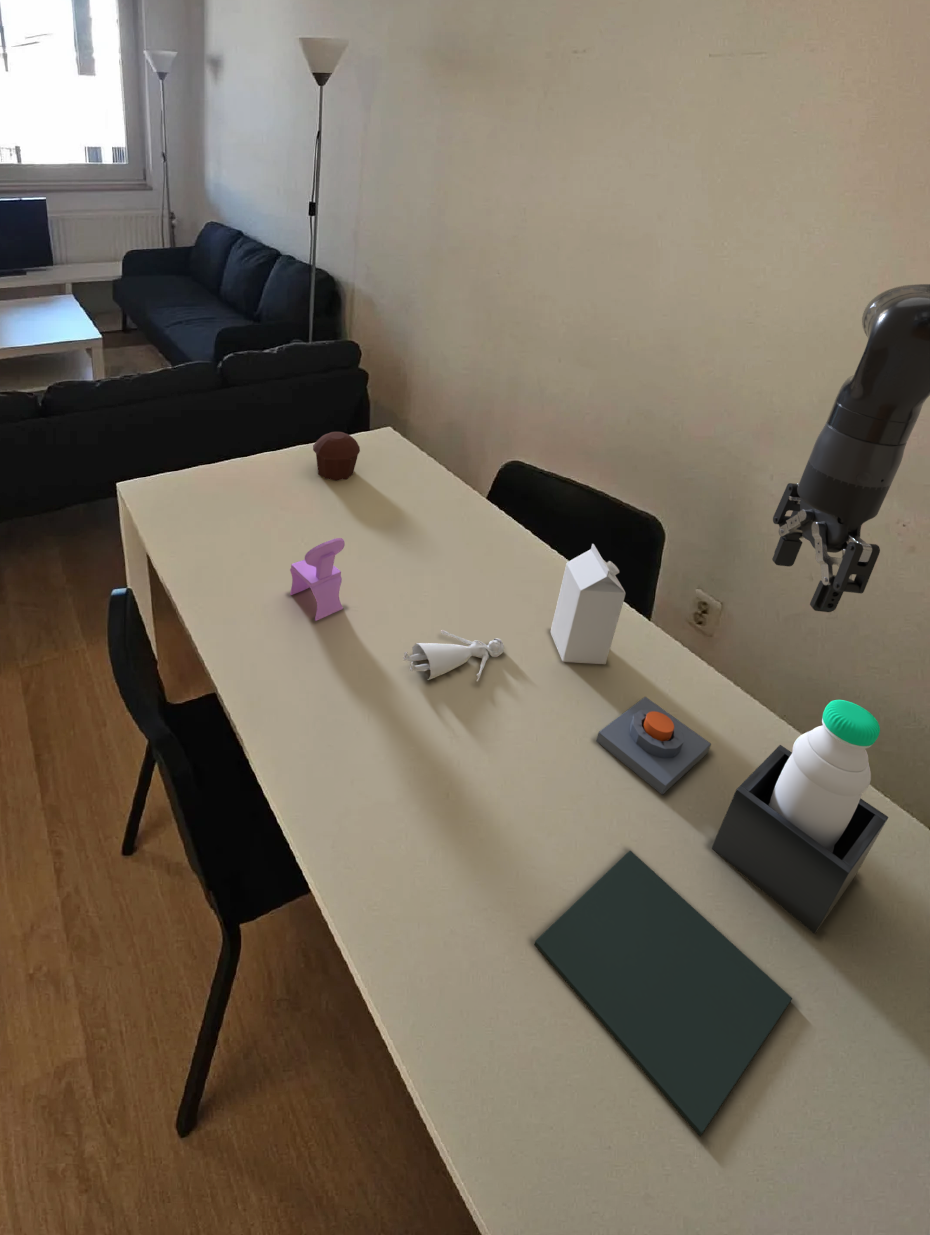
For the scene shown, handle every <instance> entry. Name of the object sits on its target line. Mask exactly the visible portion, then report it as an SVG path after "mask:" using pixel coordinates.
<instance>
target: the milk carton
mask: <svg viewBox="0 0 930 1235" xmlns="http://www.w3.org/2000/svg"><path fill="white" fill-rule="evenodd" d="M618 574H620V569H619V568H618V566H617V565H616V564H615V563H613V561H611V560H608V561H606V560H604V559H603V557H602V556H601V554H600V552H599V550H598V548H597V547H596V545H595V544H594V543H591V547H590V549H589V550H587V551H585V552H583V553H581V554H580V555H579V554H578V555H577V556H576V557H574V558H572V559H571V560H569V561H567V562H566V564H565V568H564V572H563V576H562V581H561V583H560V584H561V585H560V589H559V594H558V597H557V602H556V607H555V611H554V614H553V619H552V623H551V628H550V635H551V637H552V640H553V643H554V645H555V647H556V649H557V651H558V654H559V657H560V659H561V662H563V663H576V664H577V663H579V664H594V665H595V664H596V665H606V664H607V661H608V657H609V653H610V650H611V647H612V643H613V640H614V637H615V633H616V629H617V626H618V622H619V619H620V615H621V611H622V608H623V605H624V601H625V598H626V591H625V589H624V587H623V586H622V583H621V582H620V581H619V579H618V577H617V575H618Z"/></svg>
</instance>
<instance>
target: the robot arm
mask: <svg viewBox="0 0 930 1235" xmlns="http://www.w3.org/2000/svg"><path fill="white" fill-rule="evenodd" d="M865 306H866V307H865V308H864V310H863V312H862V317H861V326H862V329H863V332H864V334H865V336H866V337H867V341H866V345H865V348H864V351H863V353H862V355H861V357H860V360H859V363H858V364H857V367H856V370H855V372H854V374H853V375H851V376H849V377H847V378H846V379H845V380H844V382H843V383H842V385H841V386H840V388H839V390H838V393H837V394H836V396H835V399H834V401H833V404H832V407H831V409H830V411H829V414H828V417H827V419H826V421H825V424H824V425H823V428H822V429H821V431H820V432H819V434H818V436H817V438H816V440H815V442H814V443H813V444H814V445H813V447H812V450H811V453H810V455H809V457H808V460H807V463H806V464H805V467H804V470H803V472H802V475H801V478H800V480H799V482H798V483H793V482H788V483H787V484H786V487H785V489H784V491H783V494H782V496H781V497H780V500H779V502H778V505H777V507H776V510H775V512H774V514H773V516H772V522H773V524H774V525H778V526H779V528H778V536H780V537H779V539H778V541H777V545H776V547H775V549H774V554H773V555H772V558H771V559H772V562H773V563H774V564H775V565H776V566H779V567H780V566H781V567H792V566H794V564H795V562H796V560H797V557H798V555H799V552H800V550H801V548H802V545H803V541H802V539H805V540H808V541H809V543H810V544H811V546H812V548H813V549H814V553H815V562H817V564H819V565H820V571H821V572H820V574H821V579H820V580H819V582H818V584H817V586H816V588H815V591H814V593H813V596H812V598H811V600H810V602H809V606H810V607H811V608H812V609H813V610H814V611H815V612H822V613H832V612H834V611H836V609H837V608H838V605H839V604H840V601H841V599H842V597H843V594H844V593H852V594H853V593H854V594H864V592H865V590H866V587H867V586H868V583H869V580H870V577H871V575H872V573H873V570H874V567H875V565H876V563H877V561H878V558H879V556H880V553H881V548H880V546H879V545H878V544H877V543H868V542H866V541H865V540H864V539H862V538H861V530H862V526H863V524H865V523H866V522H868V521H870V520H872V519H874V518H876V517H877V516H878V514H879V512H880V510H881V508H882V506H883V503H884V501H885V499H886V497H887V494H888V492H889V491H890V488H891V486H892V484H893V481H894V479H895V477H896V475H897V472H898V471H899V469H900V466H901V464H902V461H903V457H904V452H905V450H906V445H907V442H908V441H909V439H910V437H911V434H912V432H913V430H914V428H915V426H916V423H917V422H918V419H919V417H920V414H921V412H922V408H923V406H924V404H925V402H926V401H927V399H928V398H929V397H930V283H917V284H906V285H900V286H895V287H891V288H889V289H887V290H885V291H882V292H881V293H879V294H877V295H876V296H874V297H873V298H872V299H871V300H870V301H869V302H868V303H867V305H865ZM789 511H792V512H791V514H790V515H786V514H787V513H788V512H789ZM839 552H842V555H841V557H834V556H830V555H829V554H828V553H833V554H834V553H835V554H836V553H839ZM833 565H835V566H838V569H837V571H836V574H834V570H833ZM853 575H855V577H854V579H853V577H852V576H853Z"/></svg>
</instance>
